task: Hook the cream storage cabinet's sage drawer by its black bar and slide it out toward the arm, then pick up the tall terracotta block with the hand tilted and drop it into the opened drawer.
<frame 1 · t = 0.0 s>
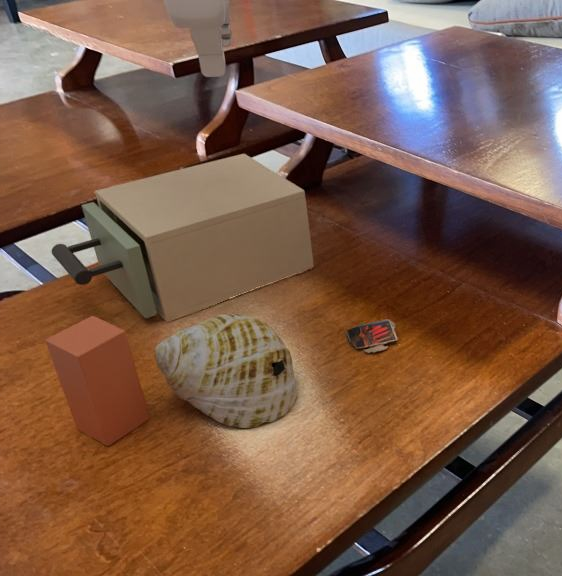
hand: (218, 59, 65), 25 cm above the table, tool pointing down, fingers open, 8 cm apart
cabinet: (216, 269, 84), on the table
matchbox: (373, 339, 74), on the table
seashell: (234, 396, 66), on the table
block: (114, 423, 63), on the table
drawer: (168, 243, 79), point 5 cm above the table, slide at 0.5 cm
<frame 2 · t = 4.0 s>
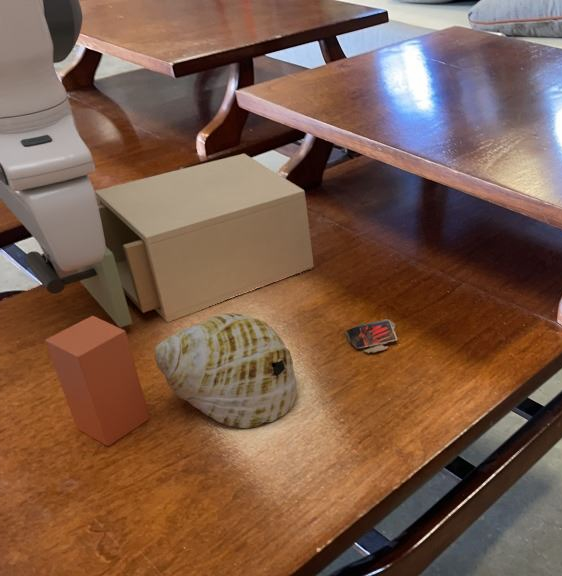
hand: (64, 271, 73), 5 cm above the table, tool pointing down, fingers closed
drawer: (144, 250, 78), point 5 cm above the table, slide at 2.9 cm, touching gripper
everything else where it was.
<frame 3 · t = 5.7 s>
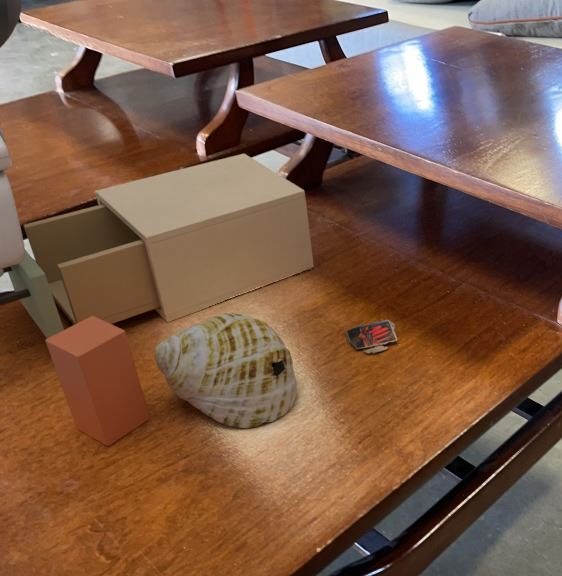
drawer: (85, 268, 74), point 5 cm above the table, slide at 8.6 cm
everything else where it was.
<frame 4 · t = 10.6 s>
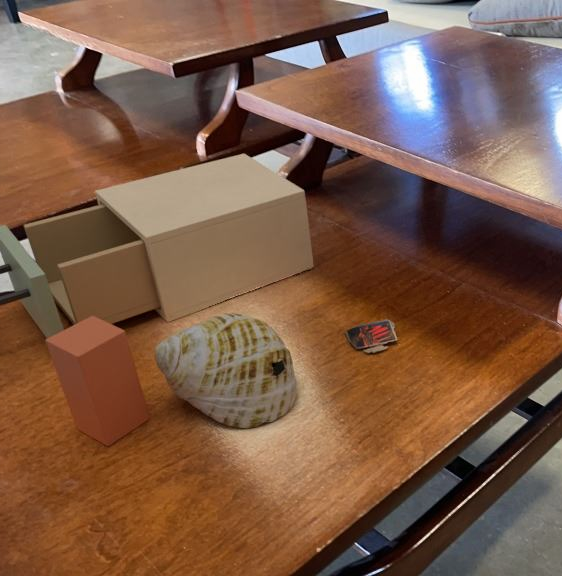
nothing on the table moved.
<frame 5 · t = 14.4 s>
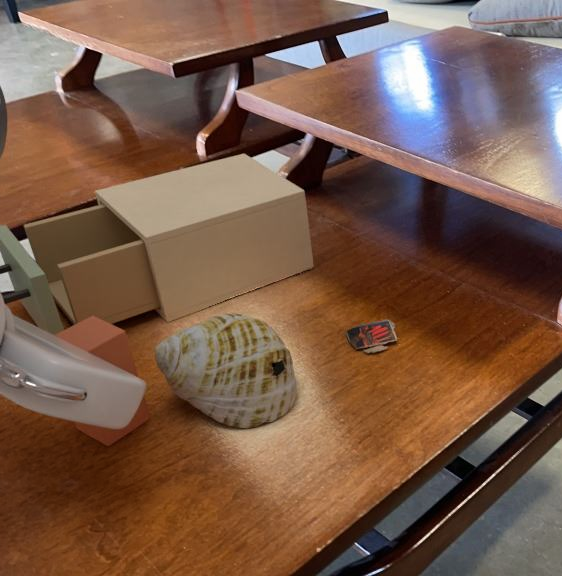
hand: (106, 374, 61), 5 cm above the table, tool tilted 45°, fingers closed on block, 4 cm apart
block: (114, 423, 63), on the table, touching gripper
everything else where it was.
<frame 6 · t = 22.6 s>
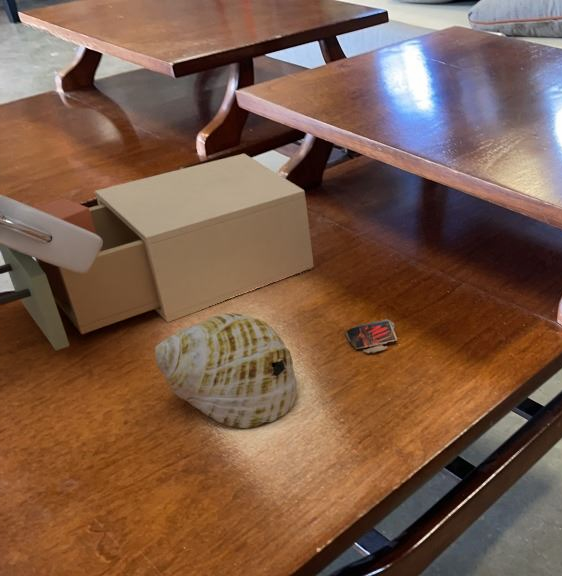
hand: (74, 247, 73), 7 cm above the table, tool tilted 45°, fingers closed on block, 4 cm apart
block: (81, 292, 75), point 2 cm above the table, touching gripper
everything else where it was.
when the fingers open (10 cm above the table, at t = 34.0 s): block drops 3 cm, resting on drawer.
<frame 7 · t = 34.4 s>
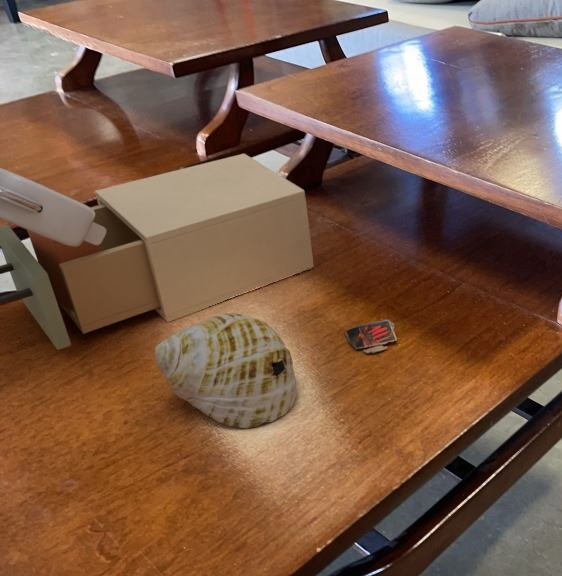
hand: (67, 223, 72), 10 cm above the table, tool tilted 45°, fingers open, 8 cm apart
block: (82, 296, 75), point 2 cm above the table, touching drawer
drawer: (87, 268, 74), point 5 cm above the table, slide at 8.4 cm, touching block
everything else where it was.
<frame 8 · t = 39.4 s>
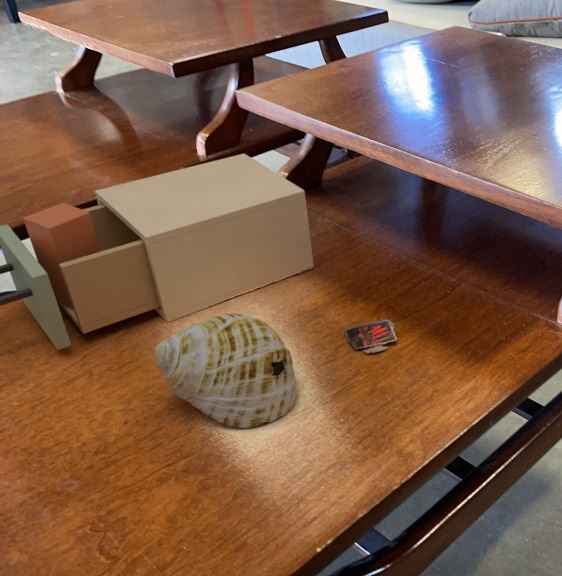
nothing on the table moved.
at the end: drawer slide at 8.4 cm; block inside the target area in the drawer (0.4 cm from its centre), point 2.0 cm above the cabinet's base; the gripper is holding nothing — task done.
